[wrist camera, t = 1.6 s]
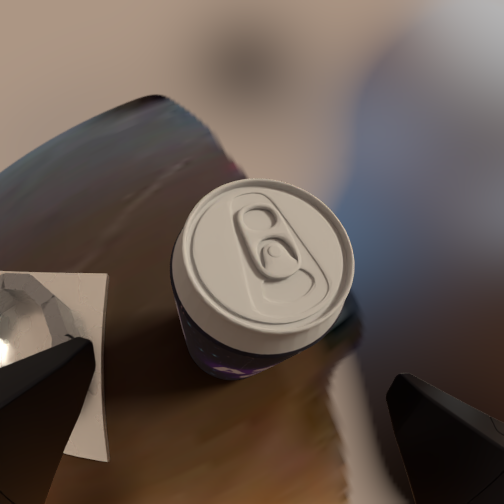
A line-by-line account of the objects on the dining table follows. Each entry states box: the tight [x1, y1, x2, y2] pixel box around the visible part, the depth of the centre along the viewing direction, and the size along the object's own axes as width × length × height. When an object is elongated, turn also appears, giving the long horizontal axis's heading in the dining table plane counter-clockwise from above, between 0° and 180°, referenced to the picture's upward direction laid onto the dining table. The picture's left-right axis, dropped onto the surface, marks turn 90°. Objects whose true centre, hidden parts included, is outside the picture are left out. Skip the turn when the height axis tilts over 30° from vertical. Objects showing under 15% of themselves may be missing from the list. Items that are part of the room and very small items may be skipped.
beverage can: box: [170, 178, 354, 380], centre depth 13 cm, size 6×6×12 cm
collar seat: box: [0, 271, 110, 462], centre depth 12 cm, size 13×13×3 cm
